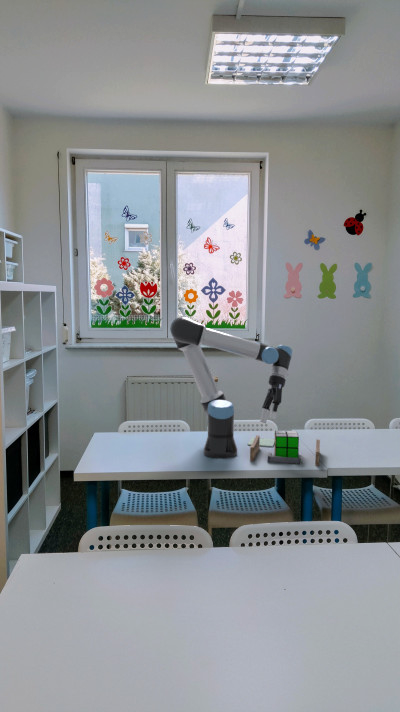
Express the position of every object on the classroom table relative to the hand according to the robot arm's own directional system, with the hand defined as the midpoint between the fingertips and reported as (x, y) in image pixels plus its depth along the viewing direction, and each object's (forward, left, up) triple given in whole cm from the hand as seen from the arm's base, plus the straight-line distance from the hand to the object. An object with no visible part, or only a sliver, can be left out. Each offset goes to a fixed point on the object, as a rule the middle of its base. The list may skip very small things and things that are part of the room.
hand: (267, 420), depth 228 cm
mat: (-4, +13, -14) cm, 20 cm away
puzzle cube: (+9, -4, -15) cm, 18 cm away
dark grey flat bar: (+9, -13, -14) cm, 21 cm away
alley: (+9, -6, -14) cm, 18 cm away
